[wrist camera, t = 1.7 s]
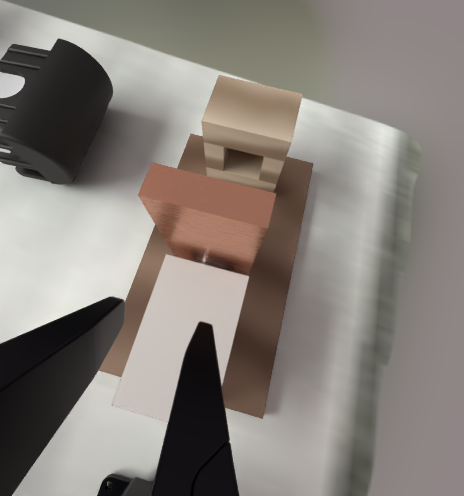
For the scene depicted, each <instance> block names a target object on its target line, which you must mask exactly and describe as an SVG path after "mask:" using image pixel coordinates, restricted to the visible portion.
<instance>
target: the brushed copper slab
mask: <svg viewBox="0 0 464 496" xmlns="http://www.w3.org/2000/svg"><path fill="white" fill-rule="evenodd" d="M138 196H139V198H140V199H141V201H142V203H143V204H144V206H145V208H146V209H147V211H148V213H149V214H150V216H151V218H152V219H153V221H154V223H155V224H156V226H157V228H158V229H159V231H160V233H161V234H162V236H163V238H164V239H165V241H166V243H167V244H168V246H169V248H170V249H171V251H172V253H173V254H174V256H175V257H178V258H182V259H186V260H189V261H193V262H197V263H201V264H204V265H208V266H212V267H216V268H219V269H223V270H227V271H231V272H234V273H238V274H242V275H246V276H248V275H249V272H250V270H251V268H252V265H253V263H254V260H255V258H256V256H257V253H258V251H259V249H260V246H261V244H262V241H263V239H264V237H265V234H266V232H267V230H268V226H269V222H270V218H271V214H272V210H273V205H274V201H275V197H276V193H272V192H268V191H264V190H260V189H256V188H252V187H248V186H244V185H240V184H236V183H232V182H228V181H224V180H220V179H216V178H212V177H208V176H204V175H200V174H196V173H192V172H188V171H184V170H180V169H176V168H172V167H168V166H164V165H160V164H156V163H152V164H151V166H150V168H149V171H148V173H147V175H146V178H145V180H144V182H143V185H142V187H141V189H140V192H139V194H138Z"/></svg>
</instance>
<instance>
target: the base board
mask: <svg viewBox="0 0 464 496" xmlns="http://www.w3.org/2000/svg"><path fill="white" fill-rule="evenodd" d="M312 167H313V163H310V162H306V161H301V160H297V159H293V158H289V157H286V159H285V161H284V164H283V167H282V170H281V173H280V176H279V178H278V181H277V184H276V187H275V190H274V193H276V197H275V201H274V205H273V210H272V214H271V218H270V222H269V226H268V230H267V232H266V234H265V237H264V239H263V241H262V244H261V246H260V249H259V251H258V253H257V256H256V258H255V260H254V263H253V265H252V268H251V270H250V272H249V275H248V276H249V279H248V283H247V287H246V291H245V295H244V299H243V303H242V307H241V311H240V315H239V319H238V323H237V327H236V331H235V336H234V340H233V344H232V348H231V352H230V356H229V360H228V364H227V368H226V372H225V376H224V380H223V384H222V391H223V398H224V405H225V408H228V409H231V410H235V411H238V412H242V413H245V414H249V415H252V416H255V417H259V418H262V419H263V415H264V410H265V405H266V400H267V395H268V390H269V385H270V380H271V375H272V370H273V365H274V360H275V355H276V349H277V344H278V339H279V334H280V329H281V324H282V319H283V314H284V309H285V304H286V299H287V294H288V289H289V284H290V279H291V273H292V268H293V263H294V258H295V253H296V248H297V243H298V238H299V233H300V228H301V223H302V218H303V213H304V208H305V202H306V197H307V192H308V187H309V182H310V177H311V172H312ZM177 169H180V170H184V171H188V172H192V173H196V174H200V175H204V176H207V171H206V161H205V151H204V141H203V137H202V136H198V135H194V134H190V137H189V139H188V142H187V145H186V147H185V150H184V152H183V155H182V157H181V160H180V163H179V165H178V168H177ZM166 254H167V255H171V256H174V254H173V253H172V251H171V249H170V248H169V246H168V244H167V243H166V241H165V239H164V238H163V236H162V234H161V233H160V231H159V229H158V228H157V226H156V224H155V227H154V229H153V232H152V234H151V237H150V239H149V242H148V245H147V247H146V250H145V252H144V255H143V257H142V260H141V263H140V265H139V268H138V270H137V273H136V275H135V278H134V280H133V283H132V286H131V288H130V291H129V293H128V296H127V298H126V301H125V320H124V324H123V327H122V329H121V331H120V333H119V334H118V336H117V338H116V340H115V341H114V343H113V345H112V347H111V349H110V350H109V352H108V354H107V356H106V358H105V359H104V361H103V363H102V365H101V367H100V368H99V371H102V372H106V373H109V374H112V375H116V376H119V377H122V374H123V372H124V369H125V366H126V363H127V361H128V358H129V355H130V352H131V350H132V347H133V344H134V341H135V339H136V336H137V333H138V330H139V327H140V325H141V322H142V319H143V316H144V314H145V311H146V308H147V305H148V303H149V300H150V297H151V294H152V292H153V289H154V286H155V283H156V280H157V278H158V275H159V272H160V269H161V267H162V264H163V261H164V258H165V256H166ZM174 257H175V256H174Z"/></svg>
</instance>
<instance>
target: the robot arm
mask: <svg viewBox="0 0 464 496" xmlns="http://www.w3.org/2000/svg"><path fill="white" fill-rule="evenodd" d="M124 320H125V302H124V300H123V299H120V298H116V297H108V298H105V299H103V300H101V301H98V302H96V303H94V304H91V305H89V306H87V307H84V308H82V309H80V310H78V311H75V312H73V313H71V314H68V315H66V316H64V317H61V318H59V319H57V320H54V321H52V322H50V323H47V324H45V325H43V326H40V327H38V328H36V329H33V330H31V331H29V332H26V333H24V334H22V335H19V336H17V337H15V338H13V339H10V340H8V341H6V342H3V343H1V344H0V496H12V494H13V493H14V491H15V490H16V489H17V487H18V486H19V484H20V483H21V481H22V480H23V479H24V477H25V476H26V474H27V473H28V471H29V470H30V468H31V467H32V466H33V464H34V463H35V461H36V460H37V458H38V457H39V456H40V454H41V453H42V451H43V450H44V448H45V447H46V446H47V444H48V443H49V441H50V440H51V438H52V437H53V436H54V434H55V433H56V431H57V430H58V428H59V427H60V426H61V424H62V423H63V421H64V420H65V418H66V417H67V416H68V414H69V413H70V411H71V410H72V408H73V407H74V405H75V404H76V403H77V401H78V400H79V398H80V397H81V395H82V394H83V393H84V391H85V390H86V388H87V387H88V385H89V384H90V383H91V381H92V380H93V378H94V377H95V375H96V373H97V372H98V370H99V368H100V367H101V365H102V363H103V361H104V359H105V358H106V356H107V354H108V352H109V350H110V349H111V347H112V345H113V343H114V341H115V340H116V338H117V336H118V334H119V333H120V331H121V329H122V327H123V324H124ZM229 440H230V438H229V432H228V425H227V418H226V411H225V405H224V398H223V391H222V385H221V378H220V371H219V365H218V358H217V351H216V345H215V338H214V331H213V326H212V324H210V323H206V322H203V321H200V322H198V324H197V327H196V329H195V331H194V333H193V335H192V338H191V340H190V342H189V344H188V346H187V349H186V351H185V354H184V358H183V362H182V366H181V370H180V374H179V379H178V383H177V387H176V391H175V395H174V400H173V404H172V408H171V412H170V417H169V421H168V425H167V429H166V433H165V438H164V442H163V446H162V450H161V454H160V459H159V463H158V467H157V471H156V476H155V480H154V483H153V482H150V481H147V480H144V479H140V478H135V479H133V480H131V479H128V478H125V477H122V476H119V475H115V474H110V475H108V476H107V477H106V478H105V479H104V480H103V482H102V484H101V486H100V489H99V492H98V495H97V496H239V491H238V486H237V480H236V475H235V469H234V463H233V457H232V450H231V444H230V442H229ZM107 482H112V484H113V487H112V488H109V487H108V486H107Z"/></svg>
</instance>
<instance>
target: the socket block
mask: <svg viewBox="0 0 464 496" xmlns="http://www.w3.org/2000/svg"><path fill="white" fill-rule="evenodd" d="M301 99H302V94H299V93H295V92H291V91H286V90H282V89H278V88H273V87H269V86H265V85H260V84H256V83H252V82H247V81H243V80H239V79H234V78H230V77H225V76H221V75H219V76H218V79H217V82H216V84H215V87H214V89H213V92H212V95H211V97H210V100H209V103H208V105H207V108H206V110H205V113H204V116H203V118H202V131H203V141H204V151H205V161H206V171H207V176H208V177H212V178H216V179H220V180H224V181H228V182H232V183H236V184H240V185H244V186H248V187H252V188H256V189H260V190H264V191H268V192H272V193H274V190H275V187H276V184H277V181H278V178H279V176H280V173H281V170H282V167H283V164H284V161H285V159H286V156H287V153H288V150H289V147H290V144H291V141H292V137H293V133H294V129H295V124H296V120H297V116H298V112H299V107H300V103H301Z"/></svg>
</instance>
